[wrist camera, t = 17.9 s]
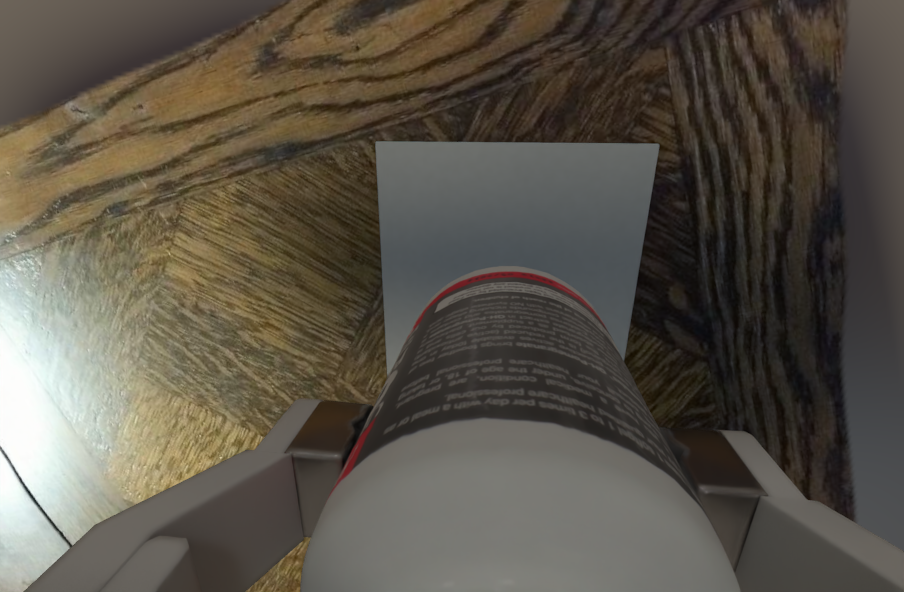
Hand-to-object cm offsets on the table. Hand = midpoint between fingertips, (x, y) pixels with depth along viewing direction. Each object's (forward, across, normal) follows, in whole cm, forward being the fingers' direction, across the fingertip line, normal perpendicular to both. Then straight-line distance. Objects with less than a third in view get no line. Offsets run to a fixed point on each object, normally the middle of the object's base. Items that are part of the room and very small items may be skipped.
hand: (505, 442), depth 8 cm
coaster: (+11, 0, 0) cm, 11 cm away
